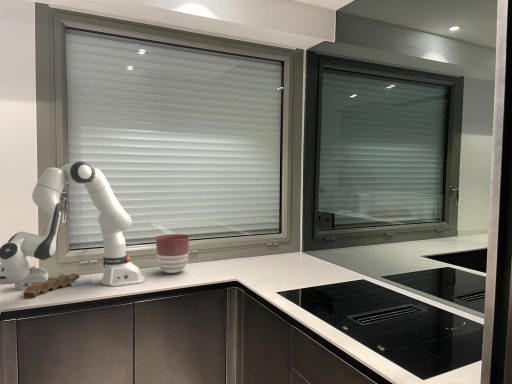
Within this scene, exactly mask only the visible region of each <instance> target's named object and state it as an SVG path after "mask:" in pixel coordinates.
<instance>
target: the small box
mask: <svg viewBox="0 0 512 384" xmlns="http://www.w3.org/2000/svg"><path fill="white" fill-rule="evenodd" d="M30 267H31V268H36V266H34V265H30ZM28 287H29V286H26V287H23V286H22V285H20V284H14V290H17V291H25V290H26V289H27V288H28Z"/></svg>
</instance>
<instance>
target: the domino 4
mask: <svg viewBox="0 0 512 384" xmlns="http://www.w3.org/2000/svg"><path fill="white" fill-rule="evenodd" d="M68 277H69V279H68V280H67V281H65V282H64V283H63V284H61V285H60V286H59V287H58V288H61V289H62V288H65V287H66V286H69V285H70V283H72V282H73V281H78V279H79V278H80V275H79V273H74V272H72V273H71V274H69V275H68Z"/></svg>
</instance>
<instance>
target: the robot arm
mask: <svg viewBox="0 0 512 384" xmlns="http://www.w3.org/2000/svg"><path fill="white" fill-rule="evenodd" d="M79 184H82V185H83V186H84V187H85V188H86V191H87V193H88V195H89V197H90V199H91V201H92V202H93V205H94V207H95V208H96V209H97V210H98V212H100V213H99V214H98V216H97V223H98V224H99V226H100V230H101V235H102V239H103V241H102V242H103V258H102V266H103V273H102V279H101V282H100V283H101V284H102V285H104V286H110V287H118V286H119V287H120V286H129V285H136V284H143V283H144V282H145V281H146V277H145V275H144V274H141V269H140V268H139V267H138V266H137V265H135V264H134V263H132V262H131V257H130V255H128V254H127V251H126V250H127V249H126V248H127V247H126V246H127V245H126V244H127V243H126V239H125V237H124V234H123V232H125V231H128V230H129V229H130V228H131V226H132V222H133V221H132V217H131V216H130V215H129V213H127V211H126V210H125V209H124V207H123V206H122V205H121V203H120V202H119V200H118V199H117V197H116V195H115V194H114V192H113V189H112V188H111V185H110V183H109V181H108V180H107V178H106V176H105V175H104V173H103V172H102V170H101V169H99V168H96V167H92V166H91V165H90V163H87V162H86V161H73V162H69V163H65V164H62V165H60V166H58V167H52V166H51V167H48V168H45V170H44V171H43V172H42V174H41V175H40V177H39V178H38V180H37V182H36V184H35V187H34V189H33V191H32V195H31V198H32V200H33V201H32V202H33V203H34V204H35V205H36V206H37V207H38V208H40V209H41V210H42V211H44V212H45V213H46V214H47V215H48V223H47V226H46V232H45V235H40V234H39V235H38V234H35V233H30V232H26V231H19V232H17V233H15V234H13V235H12V236H11V237H10V238H9V239H8V240H7V242H6V243H4V244H2V245H1V246H0V286H1V285H15V284H20V285H22V286H23V287H26V286H30V285H31V283H36V282H46V281H47V280H48V278H49V277H50V276H49V273H48V271H47V270H46V269H45V268H44V267H43V268H42V267H35V268H31V267H30V266H31V265H30V263H29V261H28V260H27V257H31V258H35V259H38V260H41V261H45V260H46V261H47V260H48V259H50V258H52V257H53V256H54V255H55V254H56V251H57V246H58V244H57V243H58V236H59V233H60V228H61V227H60V226H61V222H62V217H63V205H62V204H61V201H60V198H61V195H62V192H63V189H64V188H65V186H71V185H72V186H75V185H76V186H77V185H79Z"/></svg>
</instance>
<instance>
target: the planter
mask: <svg viewBox="0 0 512 384" xmlns="http://www.w3.org/2000/svg"><path fill="white" fill-rule="evenodd" d="M155 248H156V250H155V251H156V259H157V260H156V261H157V263H158V264H157V265H158V266H159V268H160V270H162V271H163V272H164V273H167V274H177V273H179V272H180V273H181V271H183V270H184V269H185V268H186V266H187V264H188V261H189V254H190V253H189V252H190V251H189V249H190V236H189V235H187V234H179V233H178V234H177V233H174V234H173V233H171V234H163V235H162V234H161V235H157V236H156V237H155Z"/></svg>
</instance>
